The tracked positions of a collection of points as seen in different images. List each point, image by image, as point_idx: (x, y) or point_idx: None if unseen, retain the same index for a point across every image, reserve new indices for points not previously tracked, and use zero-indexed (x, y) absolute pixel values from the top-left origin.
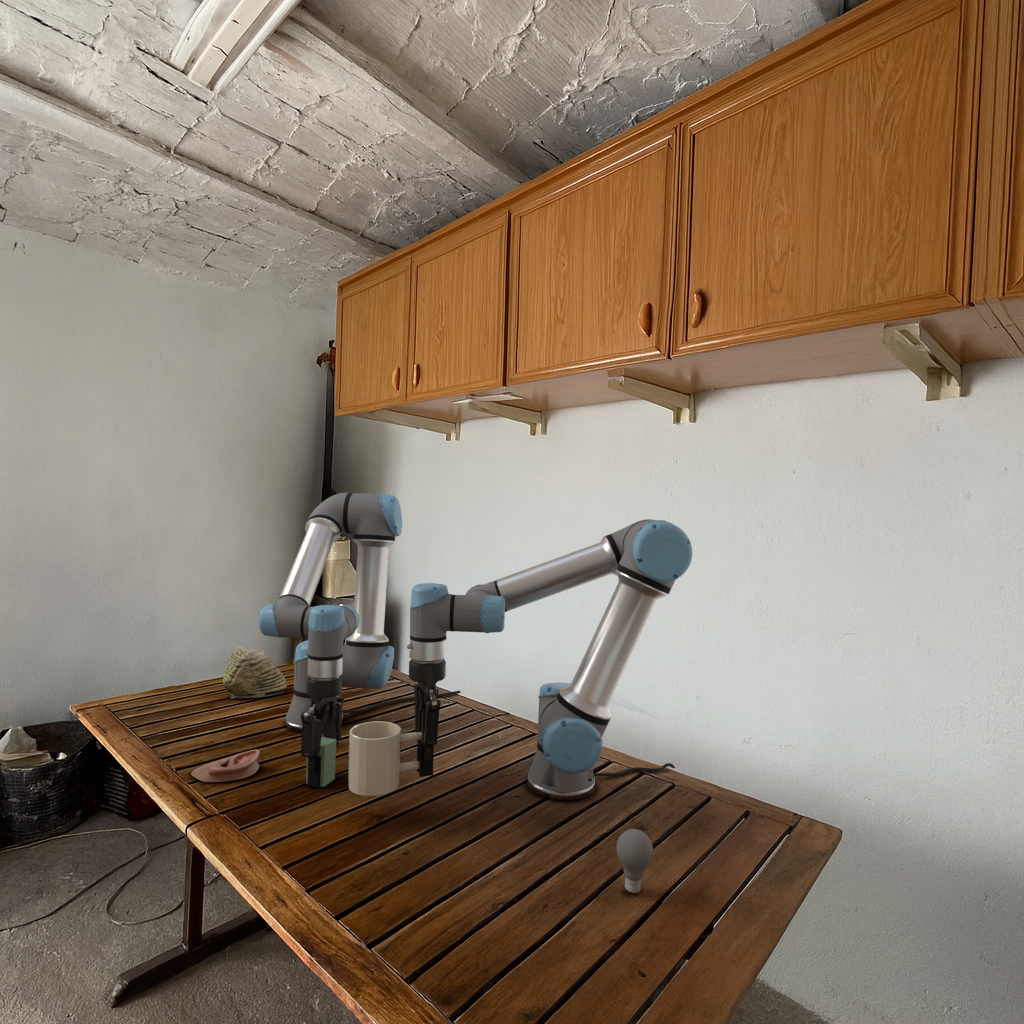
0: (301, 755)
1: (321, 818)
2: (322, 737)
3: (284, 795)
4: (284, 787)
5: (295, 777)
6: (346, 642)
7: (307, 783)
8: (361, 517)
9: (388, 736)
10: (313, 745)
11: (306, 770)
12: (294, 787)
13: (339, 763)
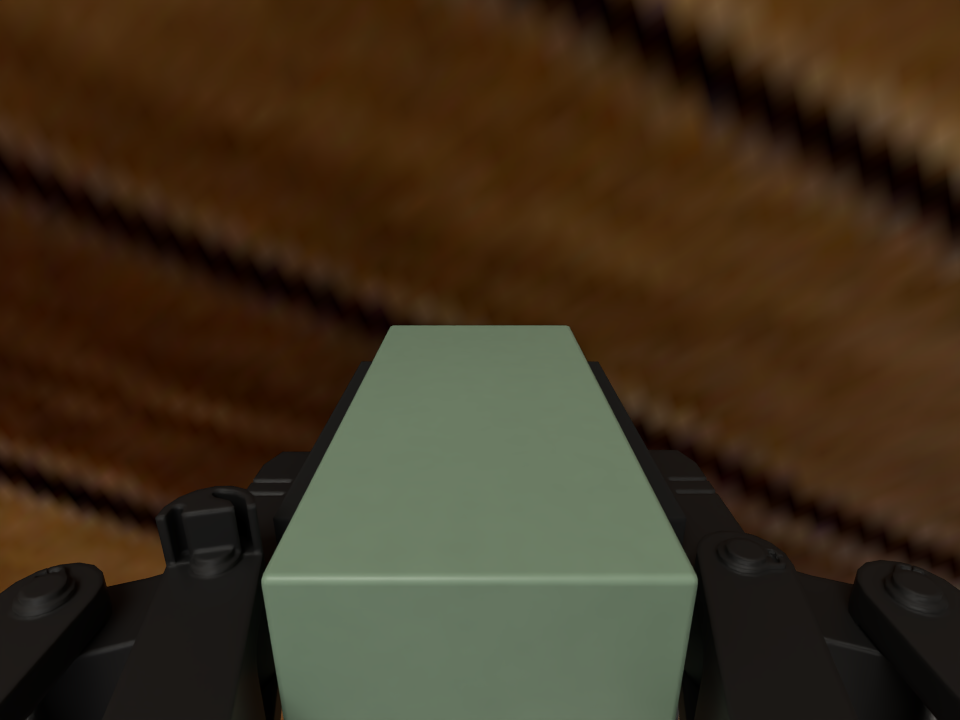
0: (19, 582)
1: None
2: (657, 661)
3: (137, 287)
4: (249, 190)
5: (465, 153)
6: None
7: (358, 367)
8: None
9: None
10: None
11: (371, 366)
12: (293, 274)
13: (865, 357)
